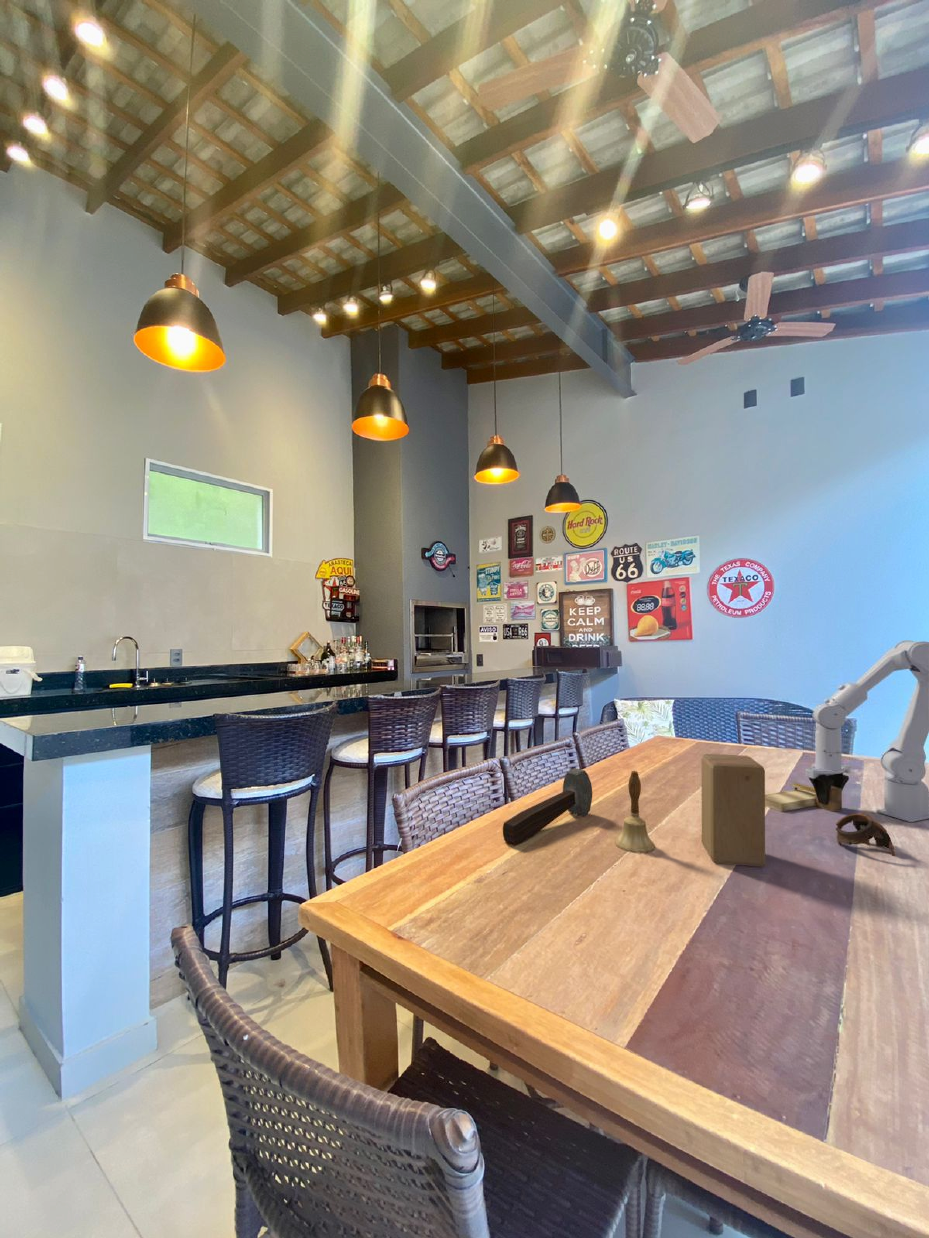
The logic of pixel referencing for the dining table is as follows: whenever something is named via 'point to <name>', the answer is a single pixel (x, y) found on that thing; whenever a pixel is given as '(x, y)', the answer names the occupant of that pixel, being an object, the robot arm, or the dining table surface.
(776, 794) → the board
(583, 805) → the hammer
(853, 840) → the broken clay pot
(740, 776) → the wooden block
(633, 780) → the hand bell
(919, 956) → the dining table surface
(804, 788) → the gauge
